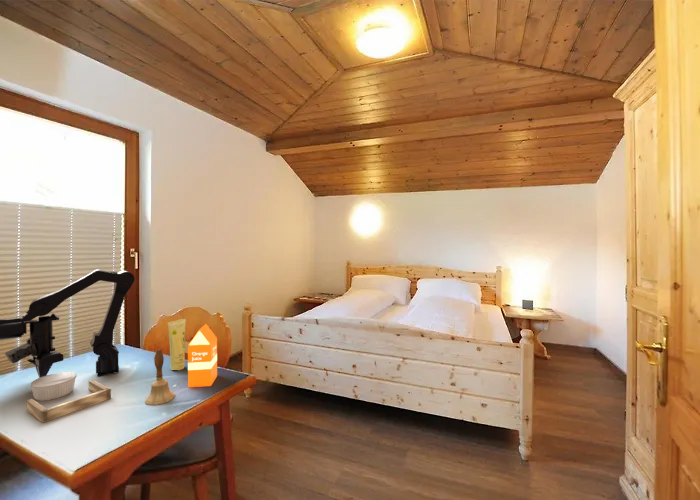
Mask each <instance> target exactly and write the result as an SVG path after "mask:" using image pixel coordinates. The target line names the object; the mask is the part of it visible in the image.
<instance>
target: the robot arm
mask: <svg viewBox="0 0 700 500" xmlns="http://www.w3.org/2000/svg"><path fill="white" fill-rule="evenodd" d="M135 279H136V278H135V275H134V274H133V273H132V272H130V271H127V270H120V271H118V272H117V271H107V270H101V269H94V270H93V271H92V272H90V273H88V274H86V275H84V276H83V277H81V278H79V279H77V280H75V281H74V282H72V283H70V284H67V285H66V286H64V287H62V288H60V289H59V290H56V291H53V292H51V293H48V294H45V295H43V296H39V297H37V298H35V299H33V300H32V301H31V302H30V304H29V306H28V310H27V311H26V312H25V313H23V315H22V316H21V317H13V318H11V317H10V318H0V341H4V340H11V339H18V338H23V336H24V335H26V334H27V333H28V324H29V337H28V338H27V339H26V343H24V344H22V345H19V346H17V347H14V348H12V349H10V350H8V351H6V352H5V353H4V355H5V356H6V358H7V359H8V361H9V362H10V363H12V364H15V363H18V362H20V361H21V360H23V359H25V358H26V357H27V358H28V357H29V359H27V360H26V361H27V362H28V363H30V364H32V365H34V368H35V370H36V373H37V375H38V378H40V377H43V376H46V375H48V374H49V371H50V370H51V368H52V366H53V364H56V363H59V362H63V361H64V354H63V353H61V352H58V351H56V347H54V340H55V339H56V336H55V335H54V332H53V330H54V329H53V328H54V327H53V321H59V320H60V316H59V315H56V313H54V312H53V311H54V310H55V309H56V308H57V307H59V306H60V305H61V304H62V303H63V302H65V301H66V300H67V299H69V298H71V297H73V296H75V295H76V294H78V293H80V292H81V291H83V290H85V289H88V288H89V287H91V286H92V285H95V284H96V283H97V282H99V281H101V282H107V283H108V282H109V283H113V293H112V296H111V298H110V302H109V304H108V307H107V311H106V312H105V313H106V314H105V316H104V319H103V322H102V326H101V327H100V329H99V330H98V331H97V332H96V331H95V332H93V333H92V338H91V340H90V341H89V344H90V347H91V349H92V352H93V353H94V355H96V356H97V360H96V361H95V374H96V375H97V377H100V376H105V375H110V374H111V375H112V374H115V373H116V374H117V373H119V372H120V366H119V353H120V352H119V349H118V348H117V346H116V345H114V344H113V341H114V330H115V328H116V324H117V321H118V318H119V315H120V312H121V309H122V306H123V303H124V300H125V297H126V295H127V293H128V292H129V290H131V288H132V286H133V284H134V282H135ZM51 312H52V313H51ZM49 313H51V314H50V315H48V314H49Z"/></svg>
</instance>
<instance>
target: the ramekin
mask: <svg viewBox="0 0 700 500" xmlns="http://www.w3.org/2000/svg"><path fill="white" fill-rule="evenodd" d="M76 378H77V373H76V372H73V371H62V372H56V373H50V374H47V375H46V376H43V377H40V378H39V377H38V378H36V379H34V380H33V381H31V382H30V383H29V384H30V389H31V391H32V395H33V399H34V400H36V401H50V400H55V399H59V398H61V397H64V396H67V395H69V394H71V393H72V391H73V390H74V388H75V383H76Z"/></svg>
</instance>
